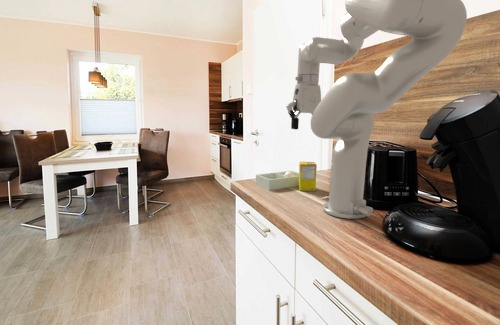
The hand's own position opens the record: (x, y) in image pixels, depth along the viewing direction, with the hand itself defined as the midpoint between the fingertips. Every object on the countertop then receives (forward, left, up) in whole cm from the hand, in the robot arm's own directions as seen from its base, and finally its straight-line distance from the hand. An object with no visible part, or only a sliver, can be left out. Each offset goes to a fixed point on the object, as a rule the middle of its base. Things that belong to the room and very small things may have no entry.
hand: (304, 128), depth 97 cm
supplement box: (-1, -1, -24) cm, 24 cm away
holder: (+9, +4, -24) cm, 26 cm away
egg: (+9, -1, -23) cm, 25 cm away
